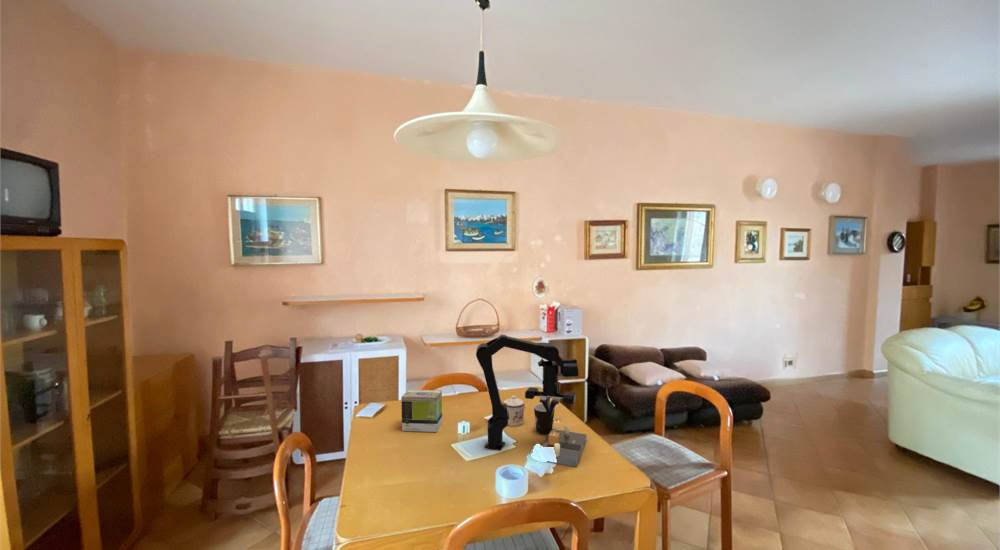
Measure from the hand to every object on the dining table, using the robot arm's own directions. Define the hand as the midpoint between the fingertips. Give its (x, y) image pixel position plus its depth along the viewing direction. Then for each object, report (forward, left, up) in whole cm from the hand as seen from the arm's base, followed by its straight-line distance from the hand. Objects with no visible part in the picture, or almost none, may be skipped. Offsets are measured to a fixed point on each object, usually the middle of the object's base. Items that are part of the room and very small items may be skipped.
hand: (550, 417), depth 159 cm
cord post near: (-12, -5, -9) cm, 15 cm away
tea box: (-3, +55, -11) cm, 56 cm away
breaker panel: (-2, -5, -11) cm, 12 cm away
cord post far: (+5, -5, -9) cm, 11 cm away
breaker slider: (-3, -2, -8) cm, 9 cm away
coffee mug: (+13, +6, -11) cm, 18 cm away
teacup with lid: (+17, +20, -11) cm, 28 cm away
